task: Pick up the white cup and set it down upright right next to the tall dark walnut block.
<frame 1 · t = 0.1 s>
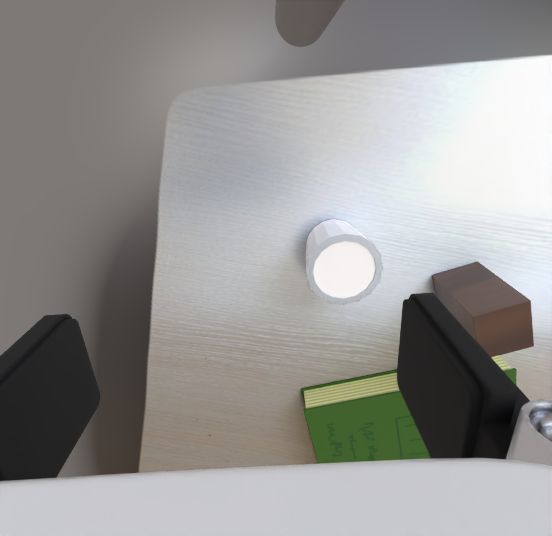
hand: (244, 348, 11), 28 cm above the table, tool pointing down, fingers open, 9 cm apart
walnut block: (457, 287, 42), on the table
white cup: (332, 244, 40), on the table
hardcover book: (407, 423, 50), on the table
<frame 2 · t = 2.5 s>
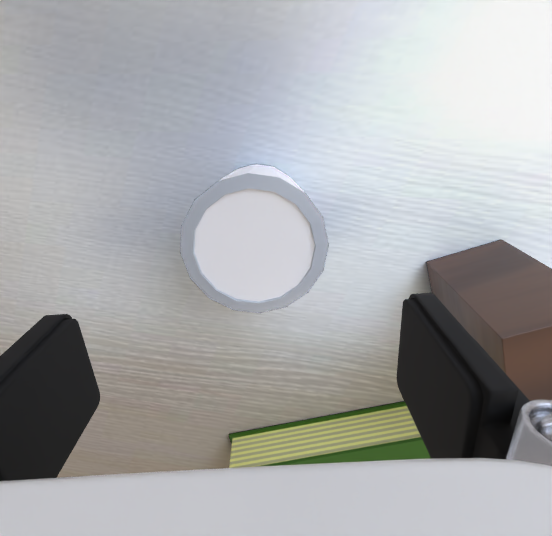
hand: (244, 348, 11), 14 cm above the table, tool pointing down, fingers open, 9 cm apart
walnut block: (467, 282, 26), on the table
white cup: (258, 209, 24), on the table
hardcover book: (390, 481, 34), on the table
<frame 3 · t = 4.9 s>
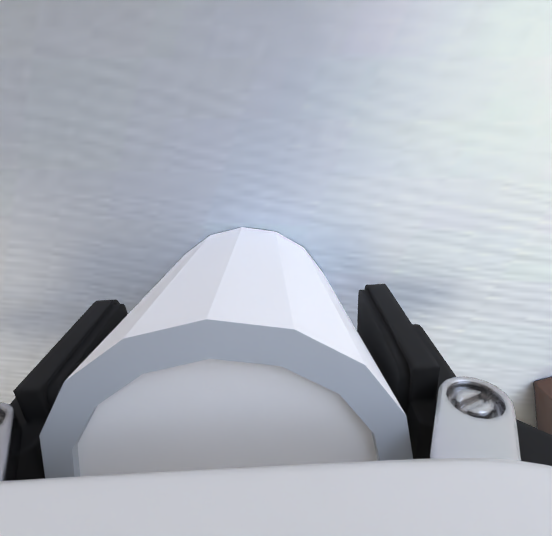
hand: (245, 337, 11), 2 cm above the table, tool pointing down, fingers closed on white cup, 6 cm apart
white cup: (249, 300, 13), on the table, touching gripper
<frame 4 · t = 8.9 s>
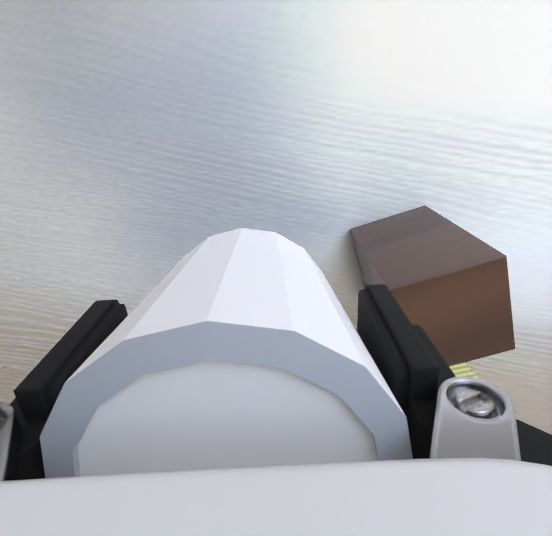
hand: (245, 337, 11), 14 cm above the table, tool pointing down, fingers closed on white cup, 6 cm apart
walnut block: (394, 251, 25), on the table
white cup: (249, 301, 13), point 12 cm above the table, touching gripper
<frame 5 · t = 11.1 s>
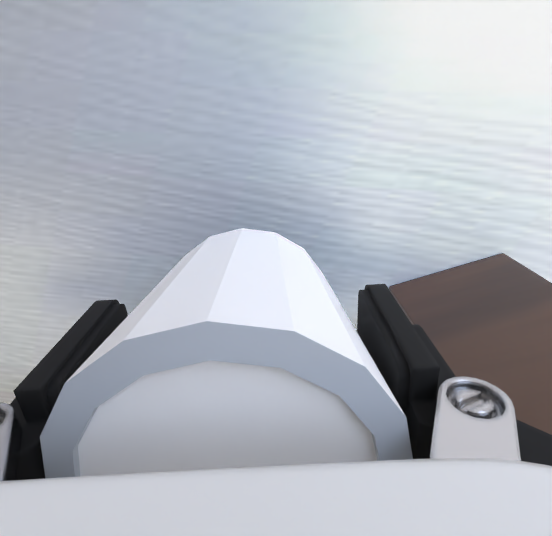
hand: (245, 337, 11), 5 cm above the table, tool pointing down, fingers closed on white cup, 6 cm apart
walnut block: (452, 316, 17), on the table
white cup: (249, 301, 13), point 3 cm above the table, touching gripper
when the fingers open (2 cm above the table, at t = 12.9 s): white cup stays where it is, on the table.
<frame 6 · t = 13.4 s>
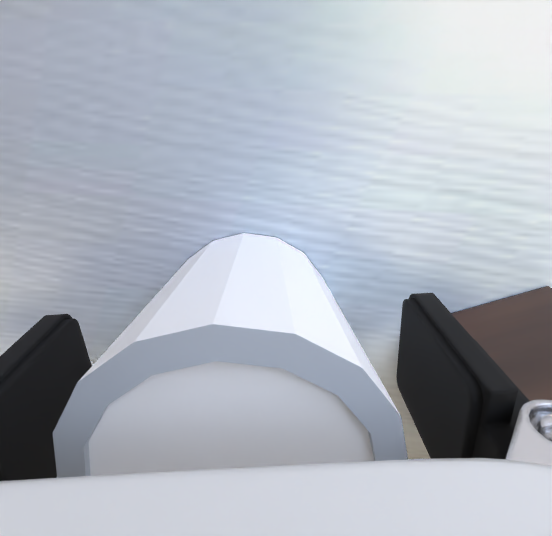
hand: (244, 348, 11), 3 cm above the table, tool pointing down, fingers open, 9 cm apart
walnut block: (485, 358, 15), on the table, touching gripper
white cup: (250, 304, 14), on the table
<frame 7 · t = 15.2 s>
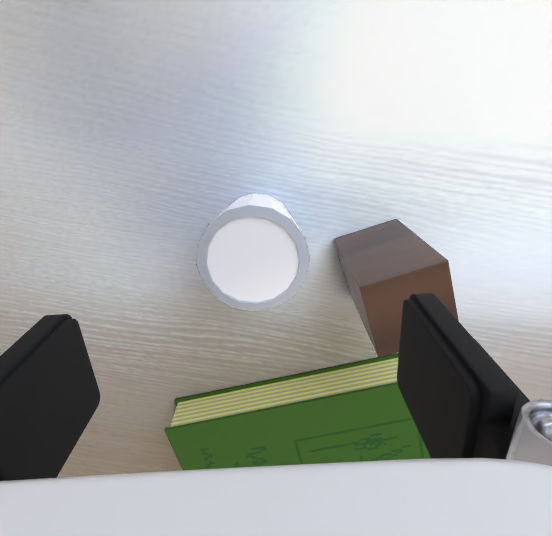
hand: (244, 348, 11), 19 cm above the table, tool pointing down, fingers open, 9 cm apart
walnut block: (372, 257, 30), on the table
white cup: (257, 228, 29), on the table
hardcover book: (325, 445, 38), on the table
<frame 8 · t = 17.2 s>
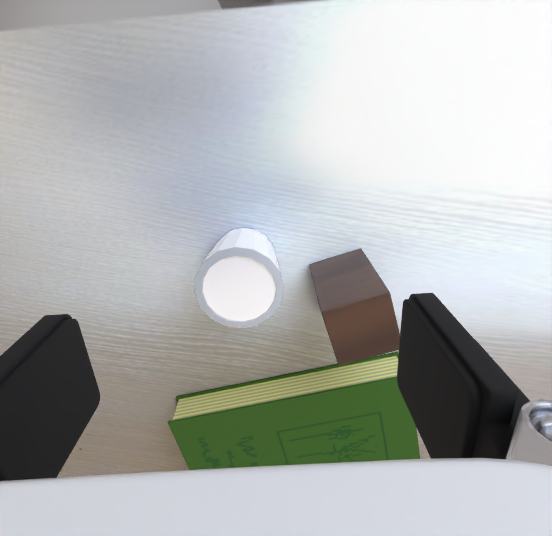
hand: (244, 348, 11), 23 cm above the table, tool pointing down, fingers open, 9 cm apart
walnut block: (341, 279, 36), on the table
white cup: (245, 256, 35), on the table
hardcover book: (305, 435, 44), on the table
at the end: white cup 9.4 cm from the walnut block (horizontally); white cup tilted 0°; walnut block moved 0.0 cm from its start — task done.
